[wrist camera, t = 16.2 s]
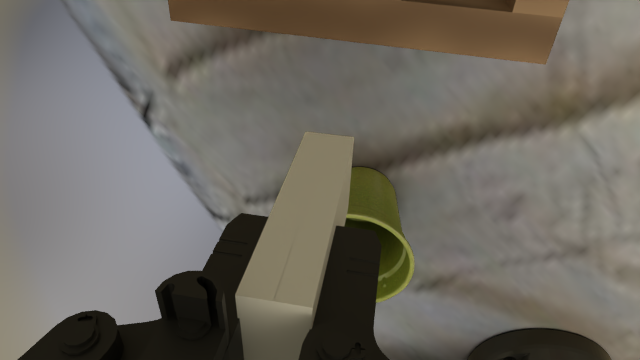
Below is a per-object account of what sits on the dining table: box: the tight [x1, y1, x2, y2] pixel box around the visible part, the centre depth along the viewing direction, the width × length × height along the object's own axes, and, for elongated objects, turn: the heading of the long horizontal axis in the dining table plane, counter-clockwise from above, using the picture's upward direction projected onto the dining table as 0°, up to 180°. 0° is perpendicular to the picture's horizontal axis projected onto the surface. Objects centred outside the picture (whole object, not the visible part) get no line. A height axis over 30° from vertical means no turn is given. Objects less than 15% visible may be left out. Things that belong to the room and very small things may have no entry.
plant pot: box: [344, 167, 414, 303], centre depth 38 cm, size 9×9×9 cm
